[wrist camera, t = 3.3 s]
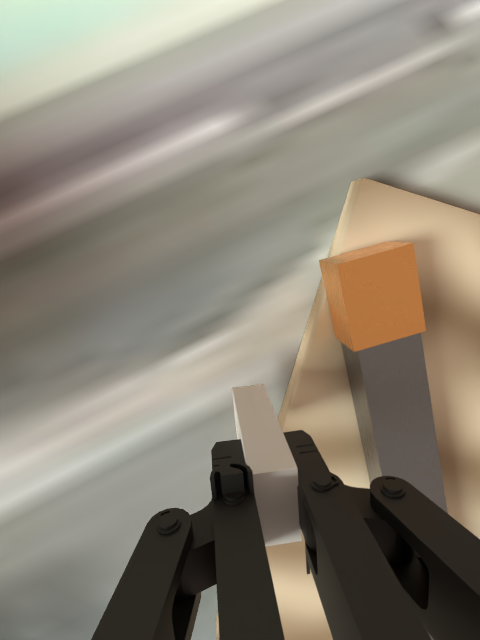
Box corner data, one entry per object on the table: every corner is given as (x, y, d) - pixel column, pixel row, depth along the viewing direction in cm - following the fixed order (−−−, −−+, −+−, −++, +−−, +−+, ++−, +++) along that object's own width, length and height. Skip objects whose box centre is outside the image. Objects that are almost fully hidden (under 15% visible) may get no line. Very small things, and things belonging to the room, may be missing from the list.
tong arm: (452, 641, 25) (482, 689, 22) (401, 657, 25) (425, 708, 22) (387, 241, 18) (419, 242, 15) (317, 260, 18) (337, 265, 15)
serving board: (485, 647, 28) (501, 670, 26) (215, 618, 24) (216, 643, 23) (668, 281, 22) (701, 284, 21) (351, 181, 19) (363, 177, 17)
